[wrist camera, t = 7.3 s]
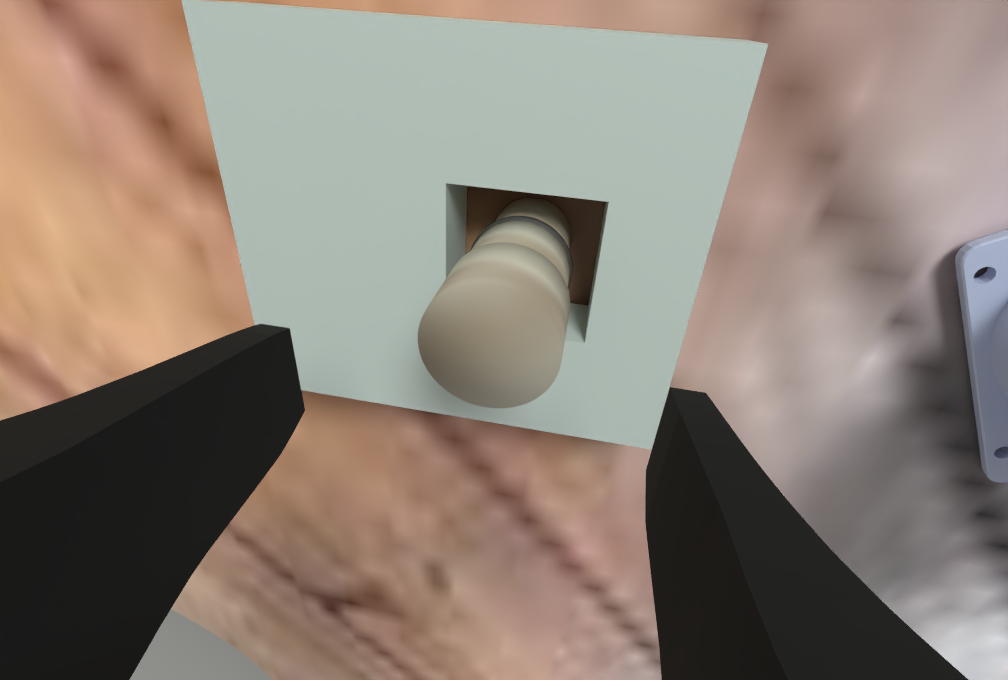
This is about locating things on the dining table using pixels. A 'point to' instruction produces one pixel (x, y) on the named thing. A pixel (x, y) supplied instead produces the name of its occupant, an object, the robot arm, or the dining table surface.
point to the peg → (503, 310)
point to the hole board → (443, 187)
